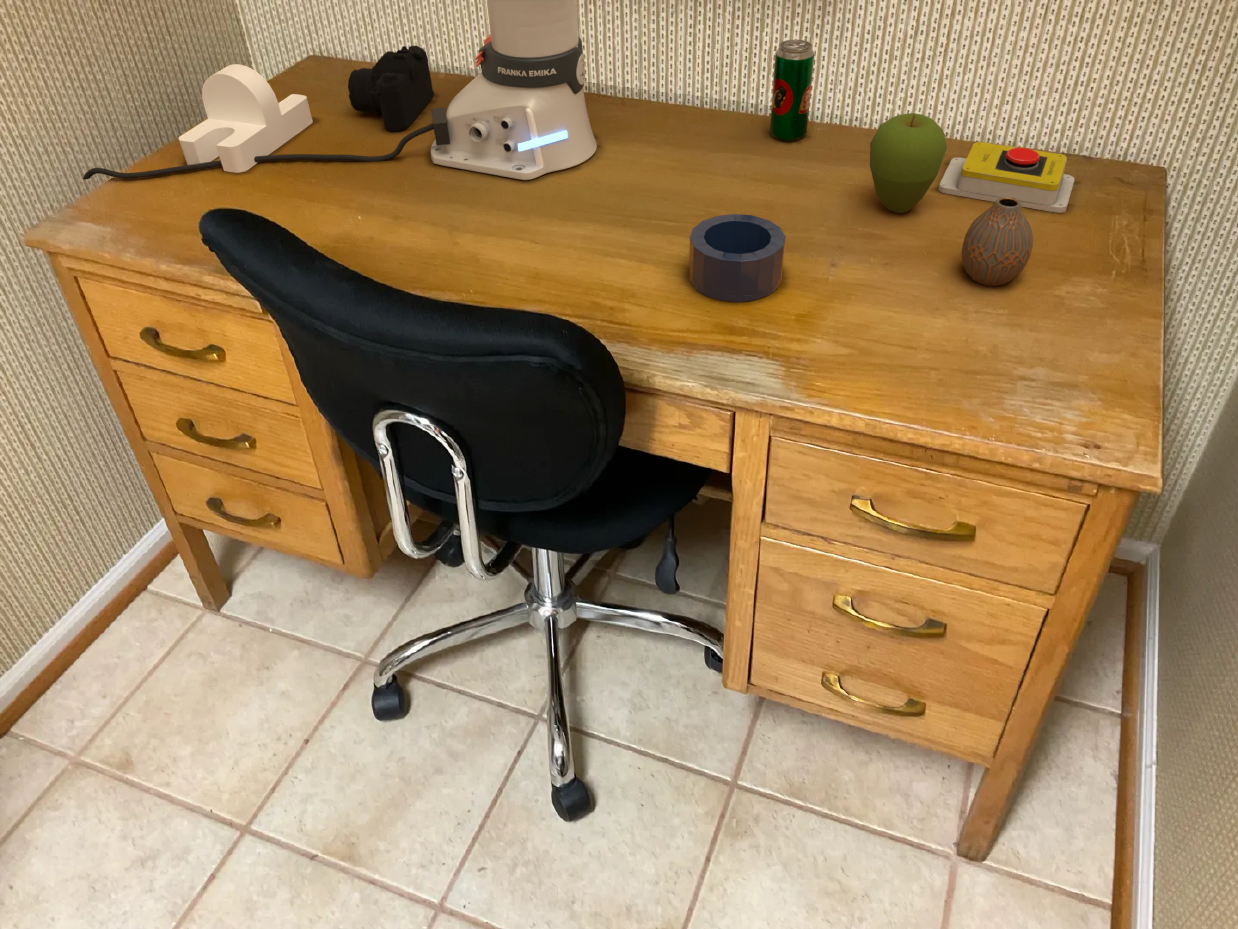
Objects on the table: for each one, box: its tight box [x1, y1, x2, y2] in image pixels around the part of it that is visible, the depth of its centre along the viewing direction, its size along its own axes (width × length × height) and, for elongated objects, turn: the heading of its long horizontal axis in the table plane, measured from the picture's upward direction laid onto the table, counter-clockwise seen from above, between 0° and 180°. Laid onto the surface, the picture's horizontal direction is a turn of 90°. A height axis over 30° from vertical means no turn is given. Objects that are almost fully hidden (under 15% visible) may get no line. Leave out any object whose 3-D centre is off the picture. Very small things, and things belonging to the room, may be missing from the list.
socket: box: [688, 213, 786, 303], centre depth 105 cm, size 10×10×5 cm
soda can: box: [769, 39, 816, 142], centre depth 130 cm, size 5×5×12 cm
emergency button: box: [938, 141, 1076, 214], centre depth 119 cm, size 9×4×15 cm
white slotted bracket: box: [178, 63, 313, 174], centre depth 134 cm, size 10×18×10 cm, turn 161°
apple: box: [869, 112, 948, 214], centre depth 113 cm, size 9×8×12 cm
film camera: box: [347, 45, 435, 133], centre depth 141 cm, size 15×10×9 cm, turn 169°
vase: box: [961, 197, 1034, 287], centre depth 102 cm, size 7×7×9 cm
